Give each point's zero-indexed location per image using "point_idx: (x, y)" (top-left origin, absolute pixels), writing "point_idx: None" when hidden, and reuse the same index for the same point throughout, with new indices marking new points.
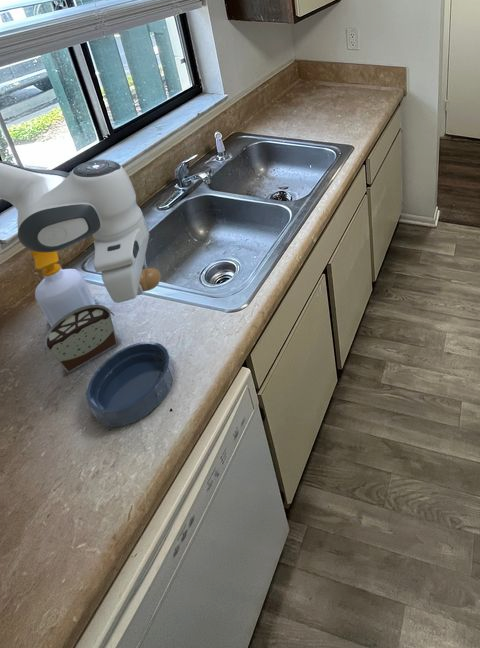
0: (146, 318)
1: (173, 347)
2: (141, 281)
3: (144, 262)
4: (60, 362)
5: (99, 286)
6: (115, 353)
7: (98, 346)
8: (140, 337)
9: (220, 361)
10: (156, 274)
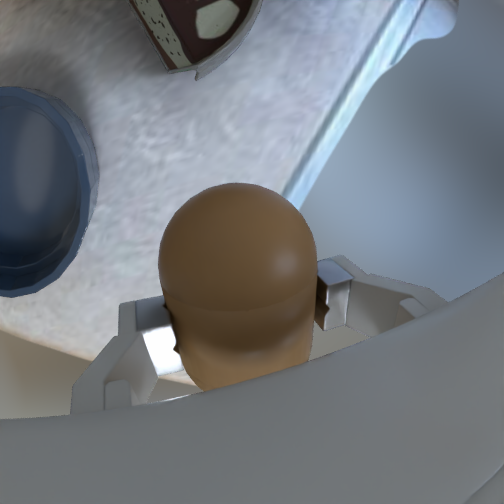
0: (242, 131)
1: (119, 235)
2: (198, 364)
3: (360, 329)
4: None
5: (386, 8)
6: (63, 120)
7: (151, 33)
8: (175, 131)
9: (75, 343)
10: None
